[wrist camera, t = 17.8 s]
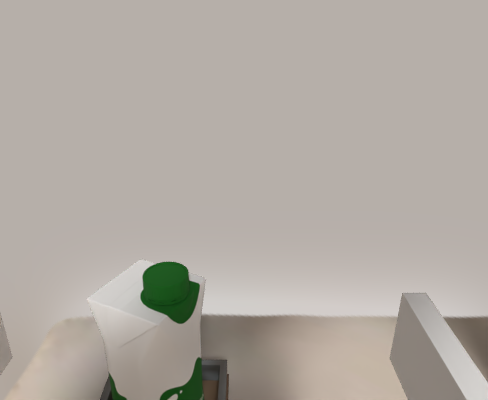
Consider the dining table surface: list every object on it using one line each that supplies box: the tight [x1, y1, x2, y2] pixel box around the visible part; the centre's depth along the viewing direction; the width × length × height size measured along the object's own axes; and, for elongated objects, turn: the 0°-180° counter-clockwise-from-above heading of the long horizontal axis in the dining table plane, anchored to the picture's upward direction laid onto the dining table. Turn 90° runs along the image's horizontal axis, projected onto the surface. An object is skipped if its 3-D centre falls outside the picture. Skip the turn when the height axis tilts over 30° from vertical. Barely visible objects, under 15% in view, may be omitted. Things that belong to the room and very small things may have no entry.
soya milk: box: [87, 259, 206, 400], centre depth 41 cm, size 9×9×20 cm
